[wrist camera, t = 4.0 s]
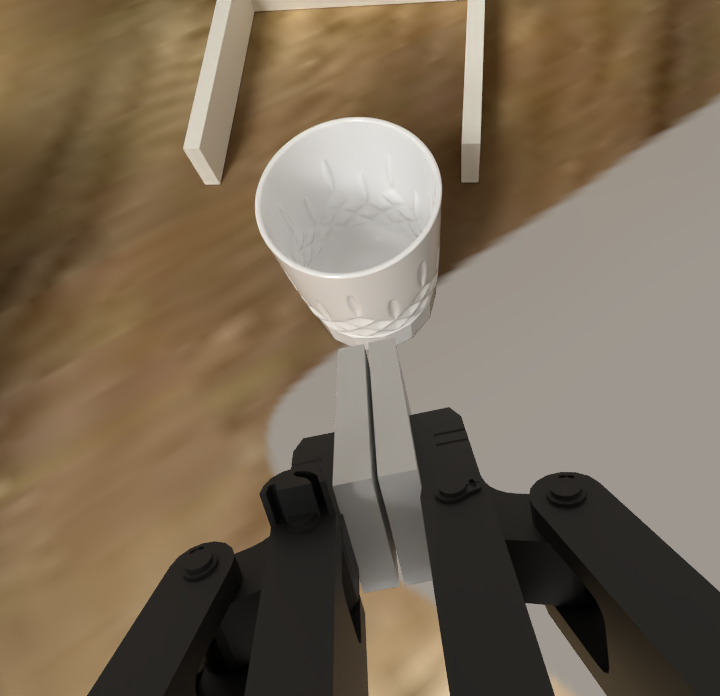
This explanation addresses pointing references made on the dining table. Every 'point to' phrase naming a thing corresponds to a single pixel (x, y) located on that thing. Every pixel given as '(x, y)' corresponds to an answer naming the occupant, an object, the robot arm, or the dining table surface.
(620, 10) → the dining table surface
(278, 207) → the white cup
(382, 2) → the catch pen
